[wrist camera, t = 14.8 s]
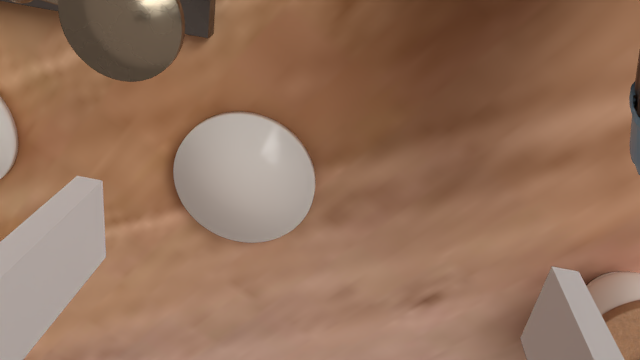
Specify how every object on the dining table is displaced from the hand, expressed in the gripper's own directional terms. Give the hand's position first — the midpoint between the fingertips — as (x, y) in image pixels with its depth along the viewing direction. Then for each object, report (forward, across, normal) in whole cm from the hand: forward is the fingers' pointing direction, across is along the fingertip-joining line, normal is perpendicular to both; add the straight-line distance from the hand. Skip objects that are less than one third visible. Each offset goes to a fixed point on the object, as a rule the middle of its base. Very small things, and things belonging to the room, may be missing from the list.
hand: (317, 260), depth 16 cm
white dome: (+31, -8, -14) cm, 35 cm away
